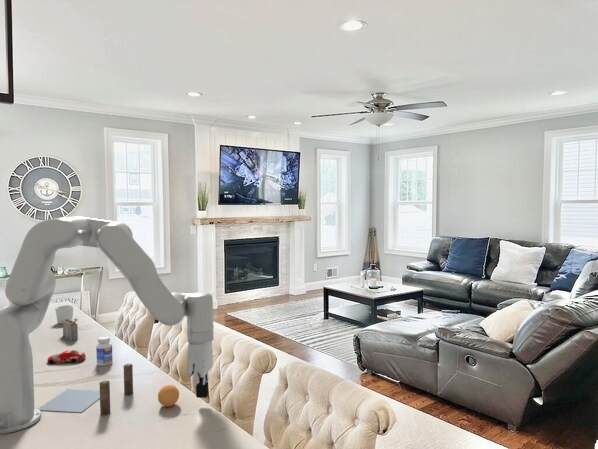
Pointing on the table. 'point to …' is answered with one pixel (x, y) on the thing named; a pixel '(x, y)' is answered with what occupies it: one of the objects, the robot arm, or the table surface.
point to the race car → (67, 357)
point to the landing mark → (72, 401)
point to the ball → (168, 395)
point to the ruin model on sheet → (70, 329)
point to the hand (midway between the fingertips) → (202, 396)
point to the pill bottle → (104, 351)
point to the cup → (64, 313)
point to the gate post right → (128, 379)
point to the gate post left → (104, 398)
